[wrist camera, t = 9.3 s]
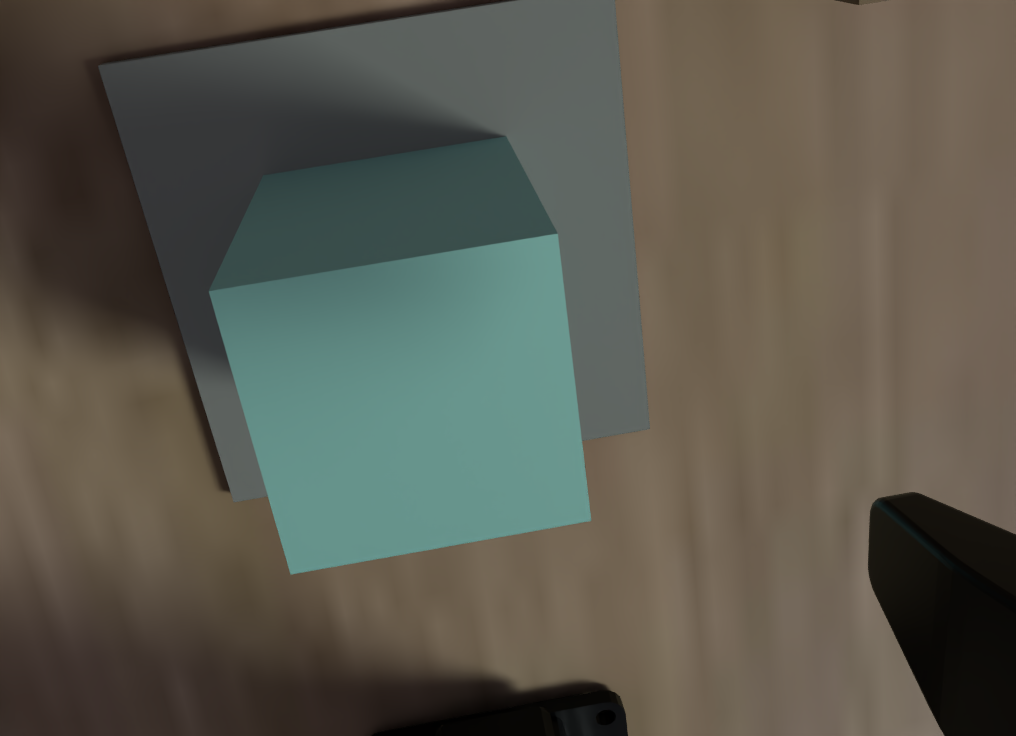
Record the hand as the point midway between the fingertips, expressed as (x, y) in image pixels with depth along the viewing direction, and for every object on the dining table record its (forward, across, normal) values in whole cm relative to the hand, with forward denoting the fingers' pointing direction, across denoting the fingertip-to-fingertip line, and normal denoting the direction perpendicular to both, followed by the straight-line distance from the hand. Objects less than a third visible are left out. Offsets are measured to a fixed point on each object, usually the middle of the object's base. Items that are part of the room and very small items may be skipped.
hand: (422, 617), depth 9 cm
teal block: (+10, 0, 0) cm, 10 cm away
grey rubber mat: (+11, 0, 0) cm, 11 cm away
